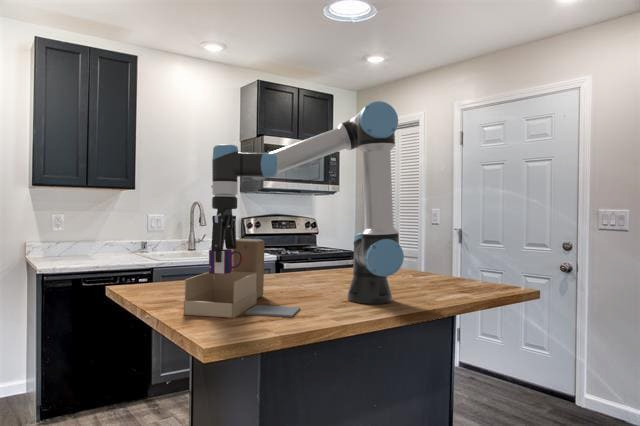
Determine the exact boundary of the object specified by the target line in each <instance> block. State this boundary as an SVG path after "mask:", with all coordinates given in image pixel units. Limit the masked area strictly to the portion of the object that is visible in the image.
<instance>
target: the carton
mask: <svg viewBox="0 0 640 426" xmlns="http://www.w3.org/2000/svg"><path fill="white" fill-rule="evenodd" d="M256 277H257V273H253V272H232V271H231V273H226V274H211V273H209V271H208V272H204V273H201V274H198V275H195V276H191V277H189V278H186V279H184V300H183V316H197V317H198V316H199V317H200V316H201V317H210V318H211V317H214V318H227V319H228V318H229V319H231V318H232V319H235V318H236V317H237V316H239V315H241V314H243V313H245V312H246V311H248V310H249V309H251V308H252V307H254V306H255V305H257V301H258V298H257V291H256Z"/></svg>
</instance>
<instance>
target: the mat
mask: <svg viewBox="0 0 640 426" xmlns="http://www.w3.org/2000/svg"><path fill="white" fill-rule="evenodd" d="M300 310H301V307H299V306H283V305H282V306H280V305H263V304H255V305H253V306H252V307H250V308H249V309H247V310H246V311H244V315H247V316H249V315H250V316H263V317H265V316H266V317H281V318H293V317H294V316H295V315H296V314H297V313H298V312H299V311H300Z"/></svg>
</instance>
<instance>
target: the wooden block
mask: <svg viewBox="0 0 640 426" xmlns="http://www.w3.org/2000/svg"><path fill="white" fill-rule="evenodd" d="M236 246H237V248H236V249H233V252H234V251H238V252H240V253H241V255H242V262H241V264H240V265H239V266H238V267H236V268H233V270H231V271H232V272H253V273H257V277H256V291H257V299H259V298H260V297H261V298H262V297H263V295H264V283H265V282H264V280H265V279H264V276H265V273H264V272H265V240H264V239H257V238H256V239H255V238H236ZM239 262H240V255H239V253H234V254H233V266H236V265H237V264H238V263H239Z"/></svg>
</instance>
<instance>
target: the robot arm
mask: <svg viewBox="0 0 640 426" xmlns="http://www.w3.org/2000/svg"><path fill="white" fill-rule="evenodd" d="M398 125H399V116H398V113H397V111H396V110H395V108H394V107H393V106H392V105H391V104H390V103H387V102H386V101H381V100H379V101H378V100H377V101H376V100H375V101H372V102H370V103H368V104H366V105H364V106H363V107H362V108H361V110H360V111H359V112H358V113H357V114H356V115H354V116H353V117H352V118H350V119H348V120H346V121H344V122H341V123H340V124H339V125H338V126H337V127H336V128H334V129H331V130H328V131H325V132H322V133H319V134H317V135H315V136H311V137H308V138H305V139H303V140H301V141H298V142H295V143H293V144H290V145H287V146H284V147H281V148H279V149H276V150H272V151H270V152H242V151H239V149H238V146H237V145H235V144H227V143H226V144H216V145H214V147H213V148H212V149H213V150H212V160H211V163H212V164H211V165H212V166H211V167H212V172H211V173H212V184H211V187H210V188H211V189H212V195H213V196H212V197H211V209H213V210H217V212H216V215H212V217H211V218H212V219H211V221H212V232H211V233H212V234H211V248H210V250H212V251H215V273H221V274H223V273H224V251H223V249H224V247H225V249H228V250H231V252H233V249H236V248H237V246H236V239H237V228H236V227H237V225H236V221H237V220H236V219H237V215H235V214H233V210H237V209H238V197H237V196H238V193H239V191H238V186H239V185H238V179H239V178H240V177H241V178H243V177H244V178H251V179H252V180H254V181H259V182H260V181H263V180H266V179H268V178H275V177H276V176H277V174H280V173H283V172H285V171H288V170H291V169H294V168H297V167H299V166H302V165H305V164H307V163H310V162H312V161H315V160H319V159H320V158H323V157H326V156H329V155H332V154H334V153H335V154H336V153H338V152H340V151H342V150H348V151H352V150H355V149H357V148H358V149H359V150H360V151H361V152H362V157H363V162H362V163H363V182H364V183H363V184H364V202H365V203H364V205H365V229H364V230H363V231H362V232H360V233H357V234H355V235H354V239H353V242H352V243H353V265H352V268H353V275H352V276H353V277H352V279H351V283H350V286H349V289H348V292H347V301H350V302H354V303H359V304H367V305H369V304H370V305H381V304H387V303H391V302H392V300H393V299H392V295H393V294H392V292H391V289H390V284H389V281H388V277H389V276H393V275H394V274H396V273H397V272H399V270H400V269H401V267H402V266H403V263H404V257H405V255H404V251H403V248H402V246H401V245H400V236H399V231H398V230H397V229H396V228H395V227H394V210H393V185H392V184H393V183H392V181H393V180H392V161H391V159H392V158H391V151H392V150H393V148H395V146H396V141H395V139H396V138H395V137H396V135H395V133H396V131H397V128H398ZM232 267H233V255H232ZM232 270H233V269H232Z"/></svg>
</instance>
